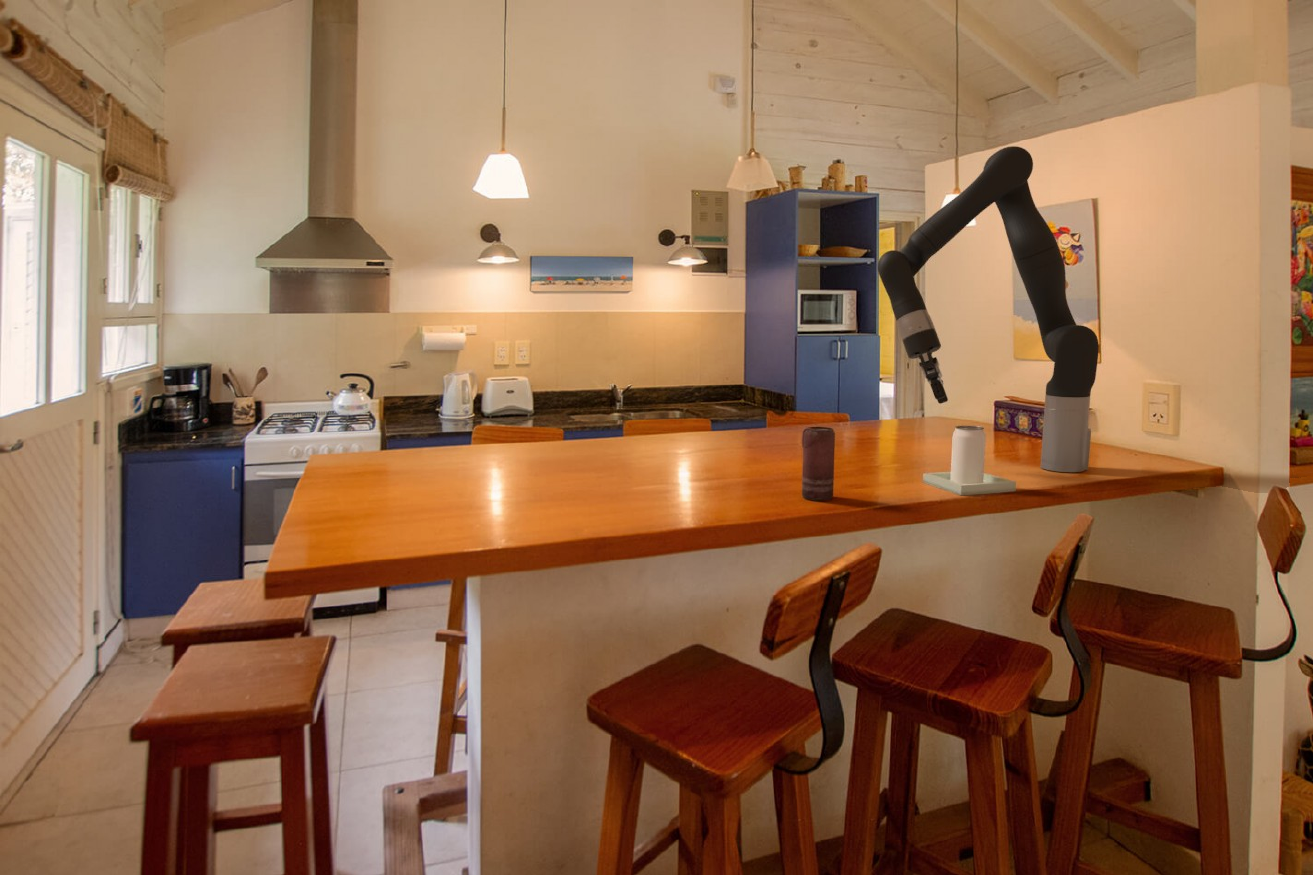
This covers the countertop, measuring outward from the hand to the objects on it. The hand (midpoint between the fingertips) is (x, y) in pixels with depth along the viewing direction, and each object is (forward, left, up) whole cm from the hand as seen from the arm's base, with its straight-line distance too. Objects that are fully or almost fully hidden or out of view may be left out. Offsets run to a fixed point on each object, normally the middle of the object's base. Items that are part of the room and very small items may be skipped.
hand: (942, 400), depth 183 cm
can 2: (+3, +14, -16) cm, 22 cm away
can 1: (+38, +14, -17) cm, 44 cm away
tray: (+3, +14, -17) cm, 22 cm away
